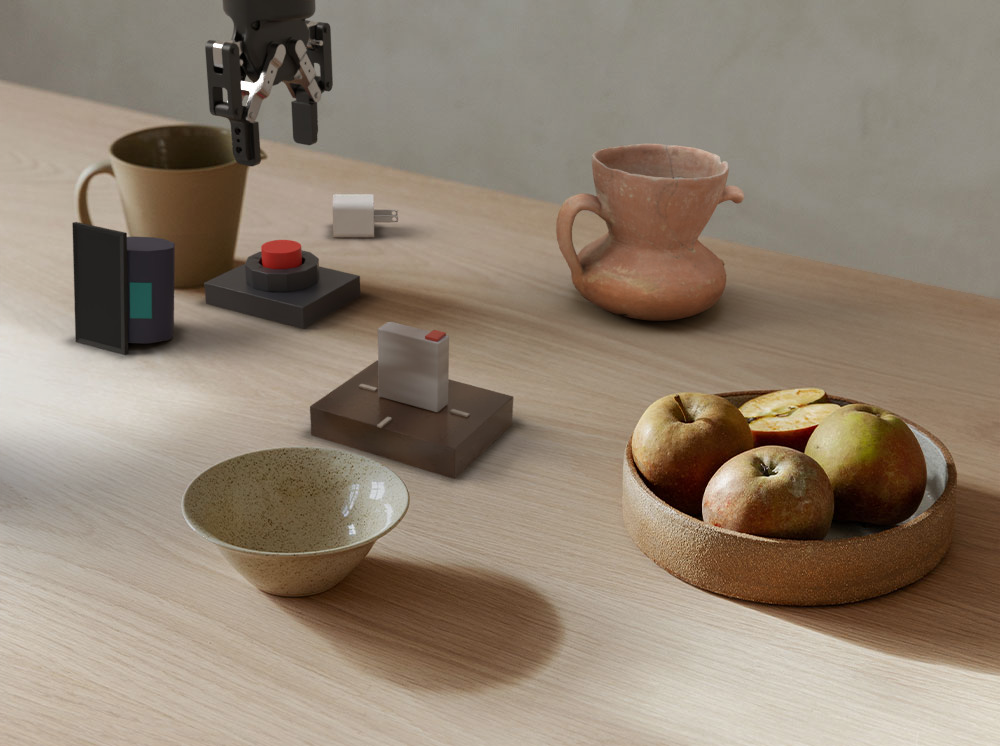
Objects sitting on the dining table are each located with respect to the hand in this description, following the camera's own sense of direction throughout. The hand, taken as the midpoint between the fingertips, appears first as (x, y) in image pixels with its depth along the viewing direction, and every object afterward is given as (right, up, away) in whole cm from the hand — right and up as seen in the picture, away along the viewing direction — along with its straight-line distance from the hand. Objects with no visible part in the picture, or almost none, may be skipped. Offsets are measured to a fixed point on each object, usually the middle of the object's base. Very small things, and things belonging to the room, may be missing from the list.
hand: (277, 153), depth 97 cm
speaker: (-12, -16, -2) cm, 20 cm away
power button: (-1, -9, +5) cm, 10 cm away
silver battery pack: (+13, -21, -16) cm, 30 cm away
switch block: (-1, -12, +6) cm, 14 cm away
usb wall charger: (+5, -4, +24) cm, 25 cm away
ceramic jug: (+33, -13, +9) cm, 36 cm away
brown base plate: (+13, -24, -15) cm, 31 cm away
